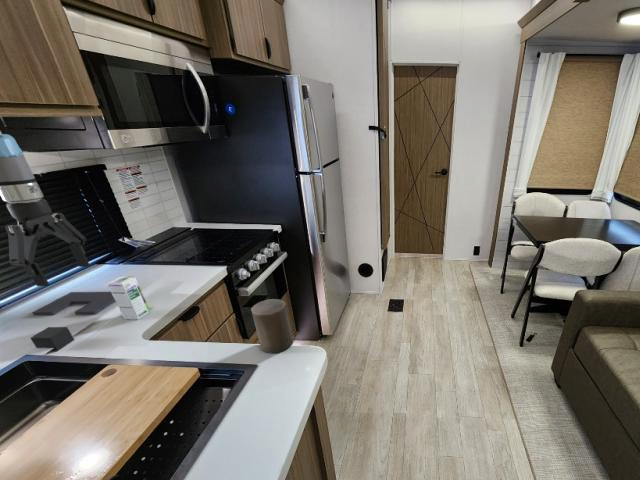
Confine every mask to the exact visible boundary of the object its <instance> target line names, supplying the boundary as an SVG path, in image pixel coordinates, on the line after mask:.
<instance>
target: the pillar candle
mask: <svg viewBox="0 0 640 480" xmlns="http://www.w3.org/2000/svg"><path fill="white" fill-rule="evenodd" d="M250 310H251V314H252V319H253V323H254V326H255V330H256V332H257V338H258V341H259V346H260V348H261V350H262V352H264V351H265V352H264V353H267V354H279V353H281V352H285V351H287V350H288V349H290V348H291V347H292V345H293V343H294V338H293V333H292V330H291V328H292V327H291V323H290V320H289V315H288V310H287V305H286V302H285V301H284V300H282V299H278V298H271V299H270V298H269V299H265V300H262V301H259V302H257V303H255V304H254V305H253V306H252V307H251V308H250ZM290 346H291V347H290ZM278 352H279V353H278Z"/></svg>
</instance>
